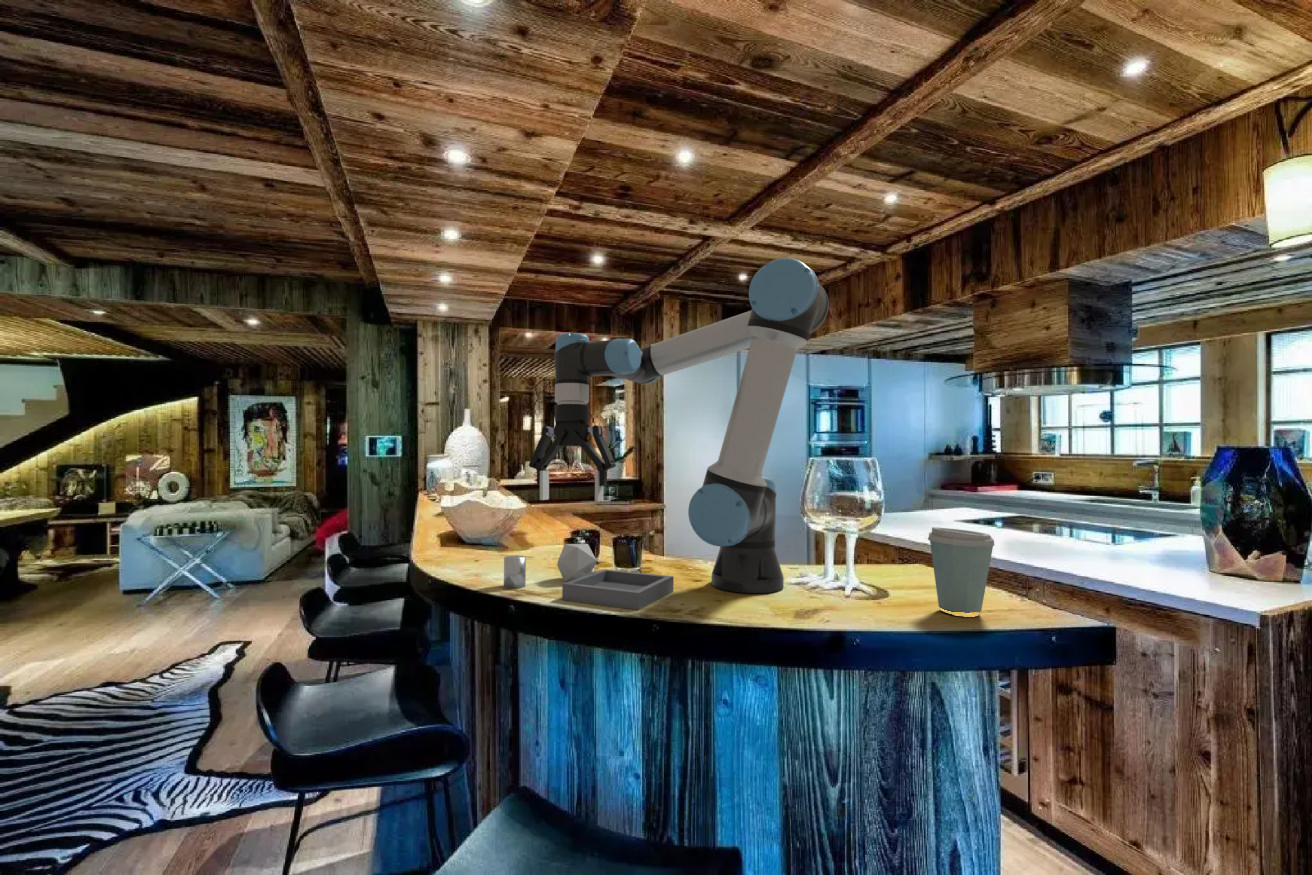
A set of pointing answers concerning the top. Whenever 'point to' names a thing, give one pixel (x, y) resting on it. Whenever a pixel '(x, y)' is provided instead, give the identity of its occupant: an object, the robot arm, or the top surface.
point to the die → (575, 561)
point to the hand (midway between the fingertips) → (571, 500)
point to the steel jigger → (514, 572)
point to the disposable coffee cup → (960, 567)
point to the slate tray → (618, 589)
